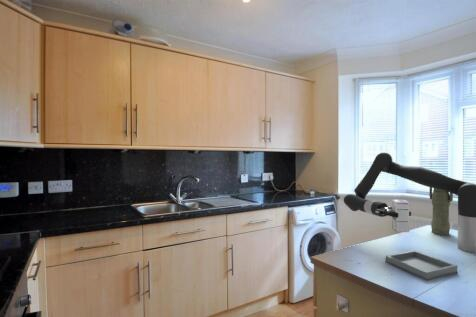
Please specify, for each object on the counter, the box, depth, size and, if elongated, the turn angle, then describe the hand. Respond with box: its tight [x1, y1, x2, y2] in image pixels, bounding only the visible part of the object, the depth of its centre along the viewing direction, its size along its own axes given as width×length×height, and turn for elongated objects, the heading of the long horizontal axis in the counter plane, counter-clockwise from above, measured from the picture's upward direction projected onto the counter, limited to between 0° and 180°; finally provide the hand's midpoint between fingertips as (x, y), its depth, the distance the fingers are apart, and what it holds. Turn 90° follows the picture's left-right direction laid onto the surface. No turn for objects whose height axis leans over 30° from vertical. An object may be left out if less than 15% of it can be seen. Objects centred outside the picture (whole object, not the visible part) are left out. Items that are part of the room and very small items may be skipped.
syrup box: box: [391, 199, 410, 233], centre depth 128 cm, size 6×6×14 cm
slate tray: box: [385, 250, 458, 281], centre depth 113 cm, size 18×18×3 cm
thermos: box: [429, 187, 454, 236], centre depth 161 cm, size 9×12×35 cm
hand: (404, 214), depth 126 cm, fingers closed on syrup box, 8 cm apart
